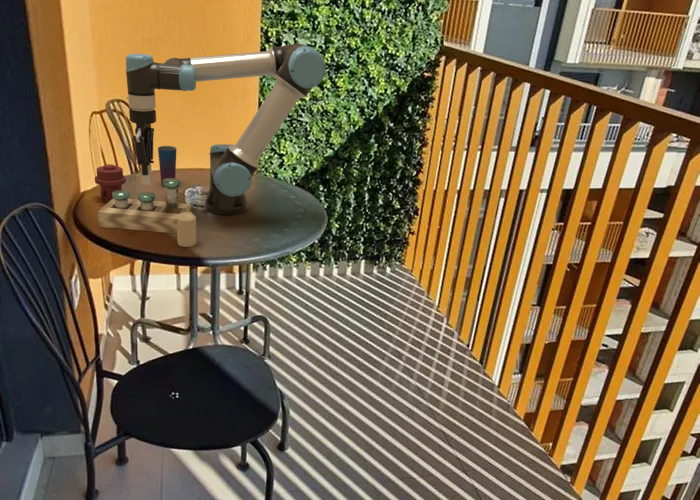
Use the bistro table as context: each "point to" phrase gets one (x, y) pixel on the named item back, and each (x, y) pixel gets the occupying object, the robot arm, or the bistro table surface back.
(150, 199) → the green lidded glass jar
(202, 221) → the bistro table surface
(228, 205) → the robot arm
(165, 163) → the cup
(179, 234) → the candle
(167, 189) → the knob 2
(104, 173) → the mechanical component
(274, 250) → the bistro table surface
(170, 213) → the birch block
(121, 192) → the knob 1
